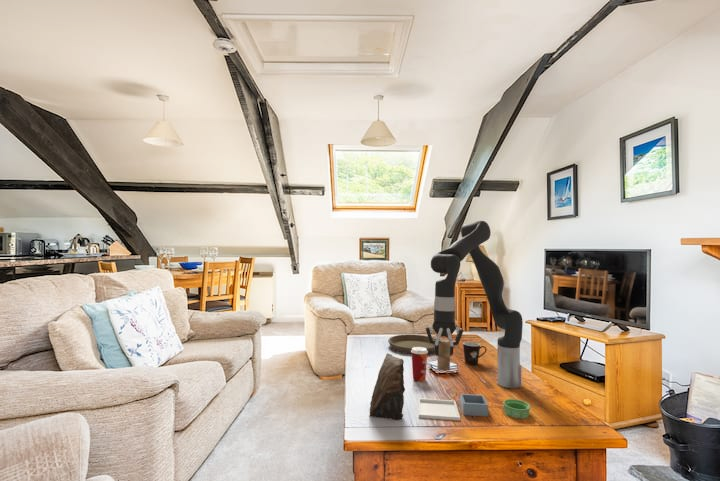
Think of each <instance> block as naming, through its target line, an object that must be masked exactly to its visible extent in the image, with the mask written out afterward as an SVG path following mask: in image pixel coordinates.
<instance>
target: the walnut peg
mask: <svg viewBox="0 0 720 481" xmlns="http://www.w3.org/2000/svg"><path fill="white" fill-rule="evenodd" d="M438 346H439V352H438V356H437V370H438V371H449V372H450V369H451V367H450V366H451V365H450V364H451V360H450V359H451V357H450V342H449V340H448V339H440V340H439V343H438Z"/></svg>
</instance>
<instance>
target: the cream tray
mask: <svg viewBox="0 0 720 481" xmlns="http://www.w3.org/2000/svg"><path fill="white" fill-rule="evenodd" d="M417 408H418V419H420V418H421V419H431V420H447V421H461V415H460V412H459V408H458V406H457V403H456V400H450V399H439V398H438V399H435V398H421V397H419V398H417Z"/></svg>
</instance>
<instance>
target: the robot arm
mask: <svg viewBox="0 0 720 481" xmlns="http://www.w3.org/2000/svg"><path fill="white" fill-rule="evenodd" d="M491 233H492V232H491V227H490V225H489V224H488V223H487V222H486V221H484V220H478V221H473V222H470V223H465V224H463V225H462V226H461V228H460V235H461V238H459V239H458V240H456V241H455V242H453V243H451V245H450V246H448V247H447V248H445V249H443V250H441V251H438V252H437V253H435V254H434V255H433V256H432V258H431V260H430V268H431V269H432V271H433V272H434V273H438V274H447V275H446V277H445V278H444V279H443V278H442V279H438V280H436V281H435V284H434V286H435V287H434V302H433V303H434V304H433V323H432V325H429V326H425V332H426V336H428V338H429V341H430V343H431V344H434V352H433V353H434V354H435V355H436V356H437V357H438V352H439V346H438V343H439V340H441V338H443V337H445V338H447V340H449V342H450V358H451V357H452V356H454V347H455V346H458V345H459V344H460V341H461V338H462V336H463V333H464V330H463V328H461V327H457V326H456V298H455V296H456V295H455V294H456V290H455V288H456V284H457V283H456V282H457V279H458V276H459V272H460V269H461V262H462V261H463V260H464V259H465V258H466V257H467V256H468V255H470V257H471V259H472V262H473V264H474V266H475V269H476V271H477V274H478V277H479V281H480V283H481V286H482V288H483V291H484V294H485V296H486V298H487V301H488V304H489V308H490V312H491V315H492V319H493V322H494V324H495V326H497V328H500V329H502V330H504V335H503V336H500V337H498V338H497V357H496V358H497V362H496V364H497V368H496V369H497V371H496V372H497V375H496V377H497V378H496V379H497V385H499V386H501V387H503V388H507V389H517V388H522V365H521V353H520V352H521V341H522V339H523V326H524V325H523V324H524V323H523V321H524V320H523V317H522V314H521V313H520V312H519V311H518V310H516V309H510V308H508V307H507V306H506V304H505V301H504V299H503V292H504V285H505V282H504V277H503V275H502V272H501V270H500V267H499V266H498V264H497V263H496V262H494V261H493V260H492V259H491V258H490V257H488V255H486V254H485V253H484V252H483V251H482V250H481V248H480V246H481V244H483V243H485V242H487V241H488V240H489V239H490V237H491ZM433 331H434V332H435V334H436V335H435V337H434V338H435V340H433V339H432V338H433V337H432V332H433ZM454 332H456V336H455V339H454V340H453V337H452V335H453V333H454Z"/></svg>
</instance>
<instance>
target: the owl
mask: <svg viewBox="0 0 720 481" xmlns="http://www.w3.org/2000/svg"><path fill="white" fill-rule="evenodd" d="M404 363H405V360H404V359H403V358H400V357H396V356H393V354H391V353H386V354H385V358H383V362H382V364H381V366H380V369H379V371H378V375H377V379H376V381H375V382H376V383H375V385H374V388H373V392H372V395H371V400H370V405H369V406H370V407H369V417H371V418H377V419H386V420H393V421H400V420H403V418H404V414H403V408H404V404H405V398H404V397H405V396H404V392H405V391H406V387H405V385H404V384H405V381H404V379H405V378H404V371H405V368H404Z"/></svg>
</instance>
